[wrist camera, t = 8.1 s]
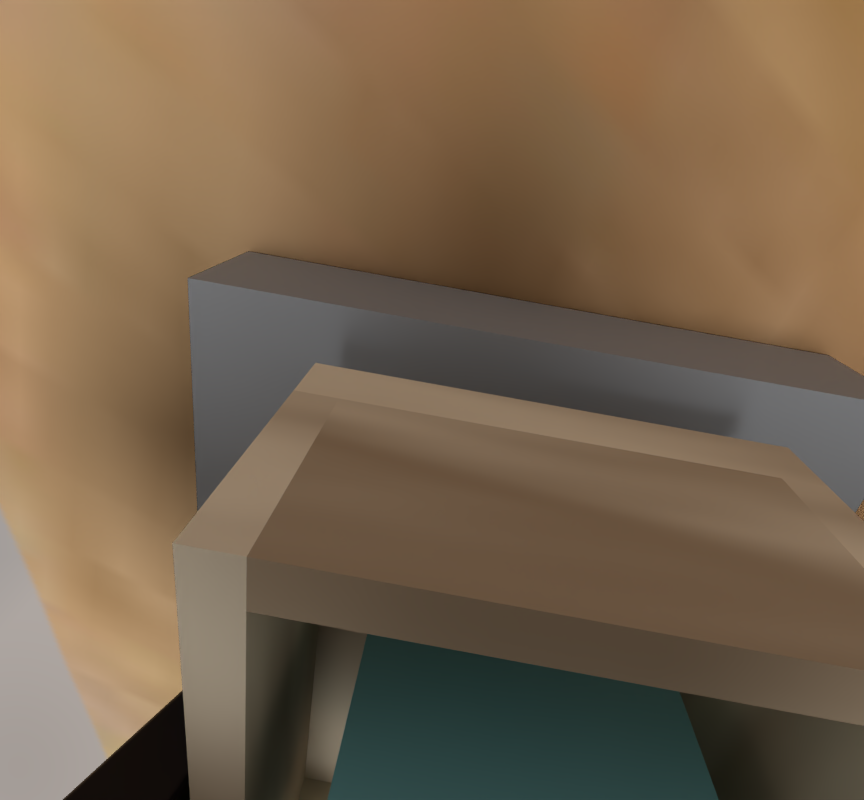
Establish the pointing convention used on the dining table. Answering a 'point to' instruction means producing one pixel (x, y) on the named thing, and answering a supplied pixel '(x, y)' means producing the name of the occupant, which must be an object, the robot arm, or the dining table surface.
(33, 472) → the dining table surface
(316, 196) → the dining table surface
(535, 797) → the cargo block
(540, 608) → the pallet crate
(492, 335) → the block
